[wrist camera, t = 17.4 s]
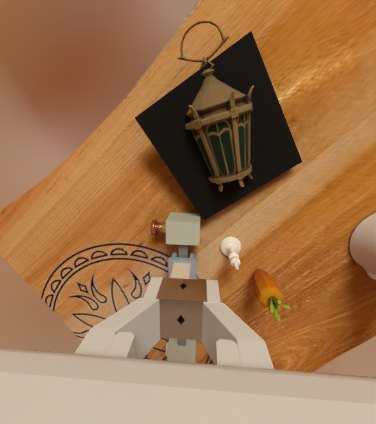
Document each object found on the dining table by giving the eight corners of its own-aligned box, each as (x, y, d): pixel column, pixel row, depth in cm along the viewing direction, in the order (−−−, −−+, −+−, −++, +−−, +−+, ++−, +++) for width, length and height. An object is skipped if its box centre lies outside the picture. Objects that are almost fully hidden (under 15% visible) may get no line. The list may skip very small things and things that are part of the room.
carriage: (196, 252, 48) (195, 279, 38) (196, 272, 49) (194, 303, 39) (171, 251, 49) (162, 278, 38) (171, 271, 50) (162, 301, 39)
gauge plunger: (197, 219, 47) (197, 224, 44) (197, 233, 48) (196, 238, 45) (154, 218, 48) (150, 222, 44) (154, 231, 48) (151, 236, 45)
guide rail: (200, 213, 49) (200, 222, 42) (195, 343, 59) (195, 368, 52) (168, 212, 49) (162, 221, 43) (169, 341, 59) (164, 365, 53)
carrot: (254, 257, 51) (274, 298, 37) (271, 266, 51) (299, 310, 37) (243, 273, 52) (259, 318, 38) (260, 282, 53) (282, 330, 38)
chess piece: (224, 258, 52) (229, 282, 42) (217, 241, 51) (220, 261, 41) (243, 251, 51) (253, 274, 41) (236, 233, 50) (244, 252, 40)
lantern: (197, 206, 53) (116, 88, 40) (277, 154, 50) (221, 11, 37) (211, 234, 41) (102, 77, 27) (318, 167, 38) (255, -39, 25)
